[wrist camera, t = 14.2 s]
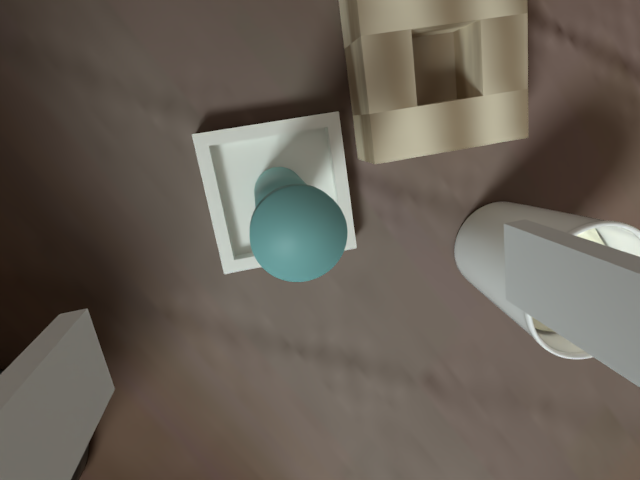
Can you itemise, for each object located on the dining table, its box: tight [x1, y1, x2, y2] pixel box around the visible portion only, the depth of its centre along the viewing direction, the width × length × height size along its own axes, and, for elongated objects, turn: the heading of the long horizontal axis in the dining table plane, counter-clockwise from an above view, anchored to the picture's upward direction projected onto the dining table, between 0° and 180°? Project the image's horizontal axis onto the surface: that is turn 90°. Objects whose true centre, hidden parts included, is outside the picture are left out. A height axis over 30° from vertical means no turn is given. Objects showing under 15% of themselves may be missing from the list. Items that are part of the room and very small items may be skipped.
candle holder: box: [454, 202, 640, 359], centre depth 33 cm, size 10×10×12 cm
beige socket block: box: [338, 0, 528, 164], centre depth 31 cm, size 12×12×5 cm
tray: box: [192, 111, 357, 274], centre depth 33 cm, size 11×11×2 cm
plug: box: [250, 167, 348, 282], centre depth 27 cm, size 5×5×14 cm
